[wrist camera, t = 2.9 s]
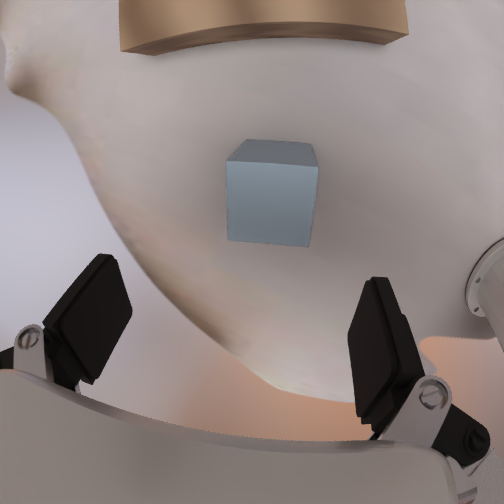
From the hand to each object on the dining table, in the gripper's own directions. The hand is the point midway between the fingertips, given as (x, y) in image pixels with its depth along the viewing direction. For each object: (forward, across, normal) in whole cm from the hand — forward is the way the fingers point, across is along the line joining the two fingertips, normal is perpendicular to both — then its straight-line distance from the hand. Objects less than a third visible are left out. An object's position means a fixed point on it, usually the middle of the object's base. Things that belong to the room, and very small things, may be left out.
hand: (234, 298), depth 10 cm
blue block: (+17, -1, 0) cm, 17 cm away
